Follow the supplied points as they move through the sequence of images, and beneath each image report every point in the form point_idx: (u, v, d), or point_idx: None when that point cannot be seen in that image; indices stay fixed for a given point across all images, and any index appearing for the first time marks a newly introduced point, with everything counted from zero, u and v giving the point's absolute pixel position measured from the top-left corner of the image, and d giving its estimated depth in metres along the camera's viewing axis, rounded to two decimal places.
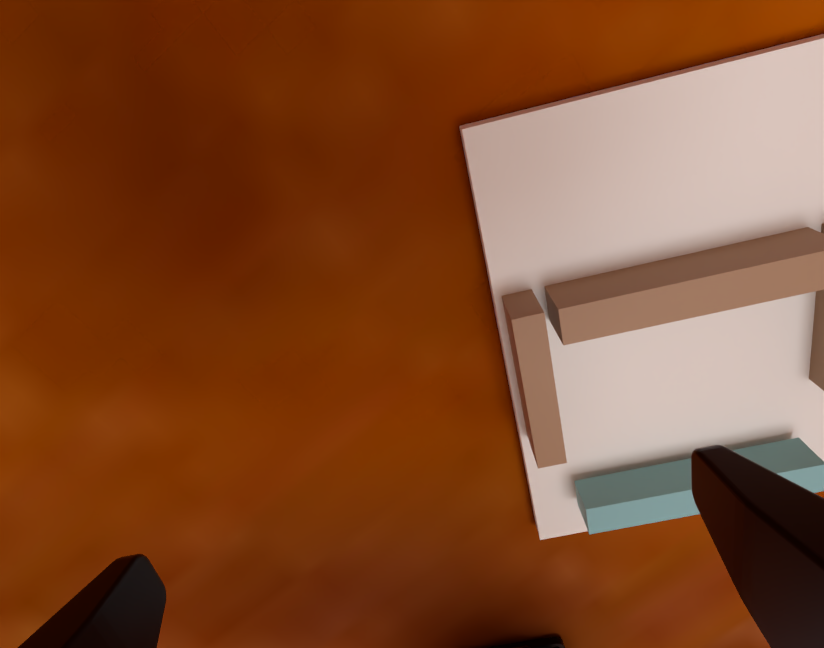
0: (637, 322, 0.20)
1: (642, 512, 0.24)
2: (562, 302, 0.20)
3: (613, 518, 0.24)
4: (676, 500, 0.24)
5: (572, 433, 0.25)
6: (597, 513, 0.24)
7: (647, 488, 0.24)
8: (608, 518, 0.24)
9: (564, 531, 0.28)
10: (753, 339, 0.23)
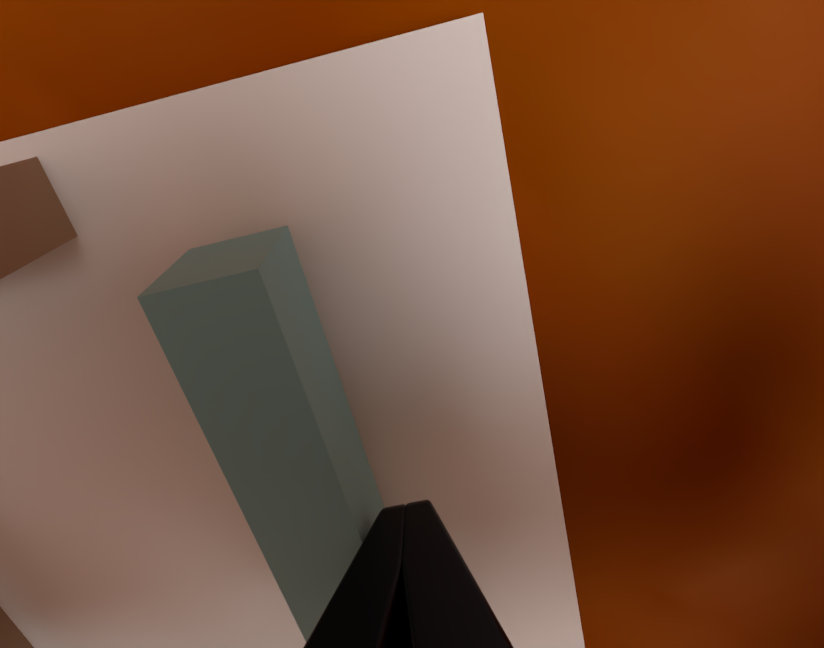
0: None
1: None
2: None
3: None
4: None
5: None
6: None
7: None
8: None
9: (570, 641, 0.13)
10: (8, 399, 0.10)
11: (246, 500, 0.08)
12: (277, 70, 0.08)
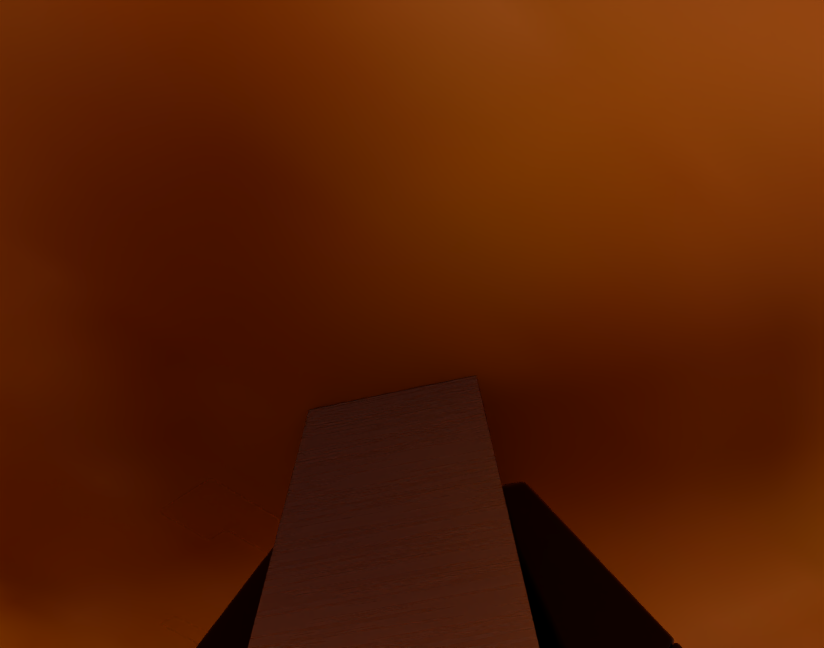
0: None
1: None
2: None
3: None
4: None
5: None
6: None
7: None
8: None
9: None
10: None
11: None
12: None
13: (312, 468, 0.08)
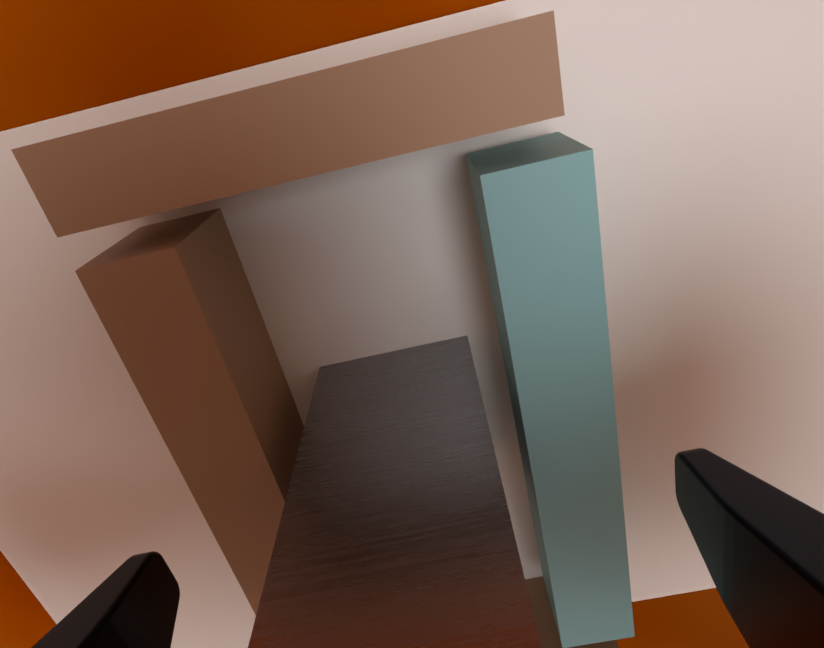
0: None
1: (588, 562, 0.11)
2: None
3: (598, 606, 0.11)
4: (563, 509, 0.10)
5: None
6: (576, 632, 0.12)
7: (539, 532, 0.11)
8: (597, 613, 0.11)
9: None
10: (408, 270, 0.10)
11: (525, 376, 0.09)
12: None
13: (324, 411, 0.10)
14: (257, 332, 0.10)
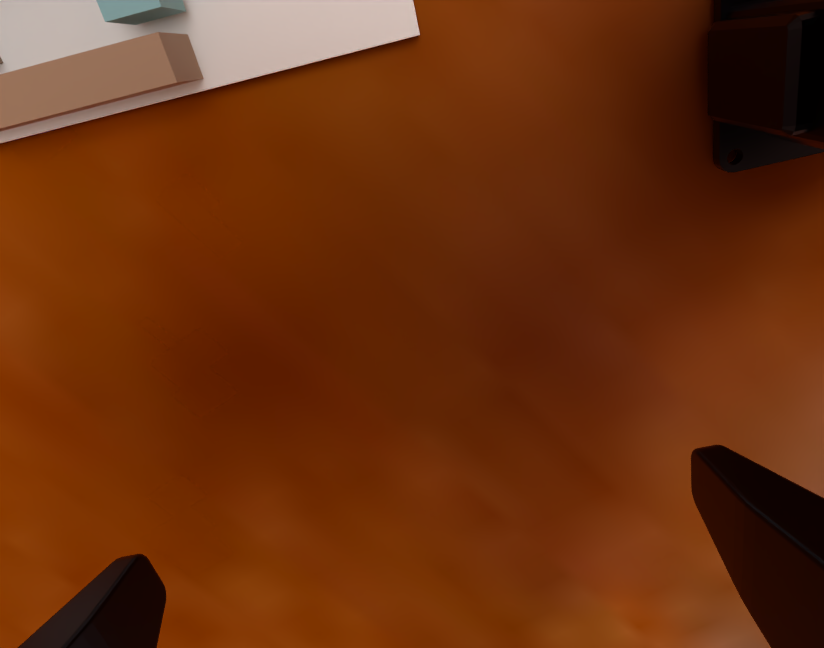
0: None
1: None
2: None
3: None
4: None
5: (189, 0, 0.16)
6: None
7: None
8: None
9: None
10: None
11: None
12: None
13: None
14: None
